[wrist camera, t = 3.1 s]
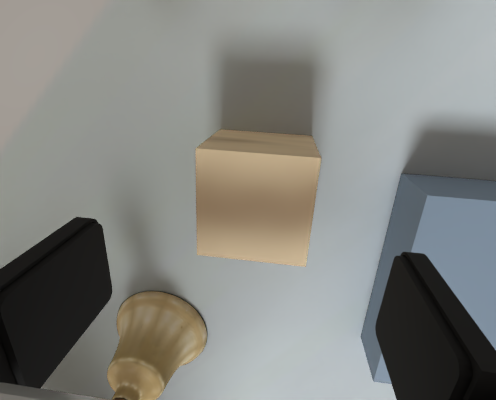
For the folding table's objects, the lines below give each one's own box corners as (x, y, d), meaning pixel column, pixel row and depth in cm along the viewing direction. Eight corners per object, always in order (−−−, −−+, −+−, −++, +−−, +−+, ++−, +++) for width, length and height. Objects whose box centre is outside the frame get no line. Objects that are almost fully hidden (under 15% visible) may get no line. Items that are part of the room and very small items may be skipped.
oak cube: (301, 219, 22) (305, 266, 17) (219, 211, 23) (197, 254, 17) (311, 135, 20) (321, 158, 14) (220, 129, 20) (195, 148, 15)
